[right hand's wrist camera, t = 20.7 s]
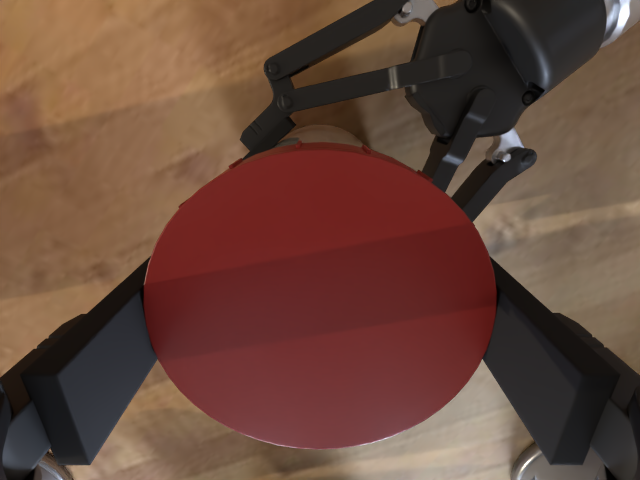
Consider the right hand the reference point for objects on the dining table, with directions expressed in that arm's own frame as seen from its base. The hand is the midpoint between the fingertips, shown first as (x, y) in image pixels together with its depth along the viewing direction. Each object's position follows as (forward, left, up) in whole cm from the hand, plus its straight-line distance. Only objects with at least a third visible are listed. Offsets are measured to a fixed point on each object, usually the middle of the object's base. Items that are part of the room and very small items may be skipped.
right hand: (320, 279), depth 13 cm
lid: (0, 0, +3) cm, 3 cm away
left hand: (-2, +4, -11) cm, 12 cm away
